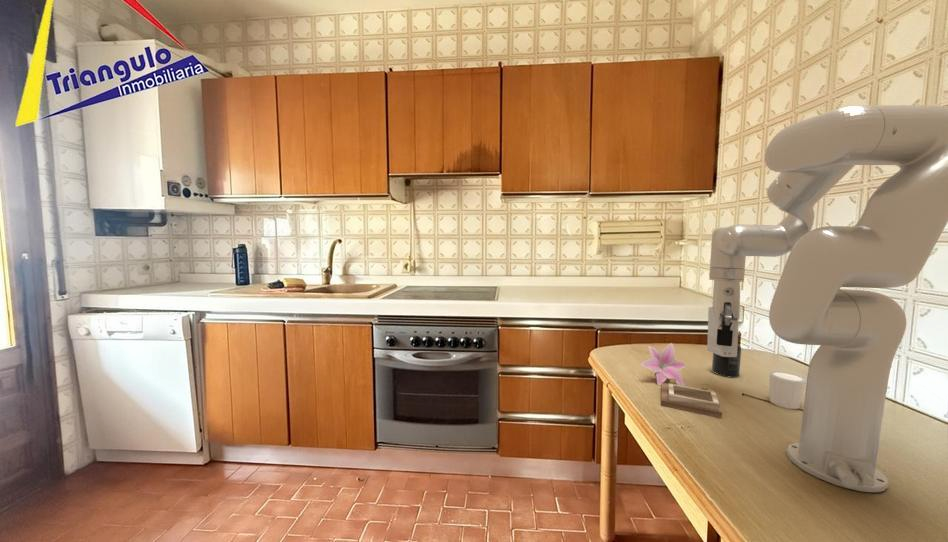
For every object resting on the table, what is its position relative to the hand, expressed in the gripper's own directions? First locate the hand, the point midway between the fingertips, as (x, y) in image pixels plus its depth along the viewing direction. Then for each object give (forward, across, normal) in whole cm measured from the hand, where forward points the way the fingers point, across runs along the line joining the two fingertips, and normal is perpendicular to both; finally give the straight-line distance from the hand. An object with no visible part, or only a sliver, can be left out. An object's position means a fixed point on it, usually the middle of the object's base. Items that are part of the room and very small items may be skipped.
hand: (721, 341), depth 97 cm
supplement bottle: (+13, +15, -3) cm, 20 cm away
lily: (+13, -1, +13) cm, 19 cm away
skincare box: (+3, 0, 0) cm, 3 cm away
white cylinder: (+13, -2, -13) cm, 19 cm away
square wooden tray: (+13, -12, +8) cm, 20 cm away
